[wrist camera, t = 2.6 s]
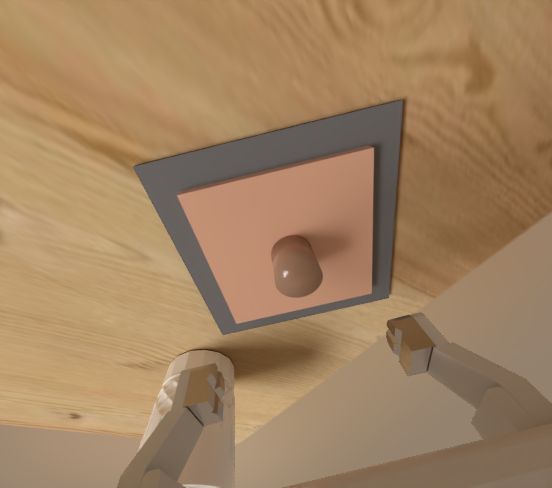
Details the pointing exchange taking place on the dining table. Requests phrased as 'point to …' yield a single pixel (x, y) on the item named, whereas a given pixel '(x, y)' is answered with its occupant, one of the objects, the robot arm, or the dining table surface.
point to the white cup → (214, 438)
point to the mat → (271, 154)
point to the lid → (288, 233)
